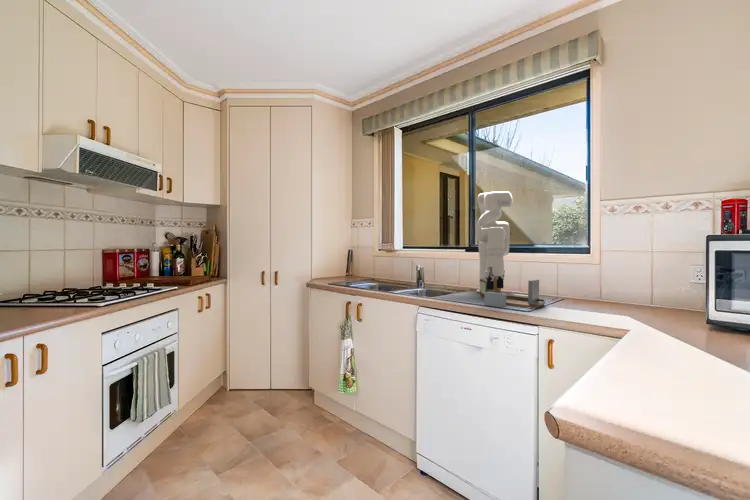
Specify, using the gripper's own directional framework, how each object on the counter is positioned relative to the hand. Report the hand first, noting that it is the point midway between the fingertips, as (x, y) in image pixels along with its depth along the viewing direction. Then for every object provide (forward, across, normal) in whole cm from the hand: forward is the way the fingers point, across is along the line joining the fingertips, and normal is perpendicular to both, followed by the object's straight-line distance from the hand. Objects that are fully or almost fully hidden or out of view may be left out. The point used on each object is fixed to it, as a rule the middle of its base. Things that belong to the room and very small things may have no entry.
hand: (495, 288), depth 167 cm
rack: (+8, -12, +5) cm, 15 cm away
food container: (+8, -19, -13) cm, 24 cm away
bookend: (+6, -12, +15) cm, 20 cm away
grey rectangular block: (+8, -1, 0) cm, 8 cm away
